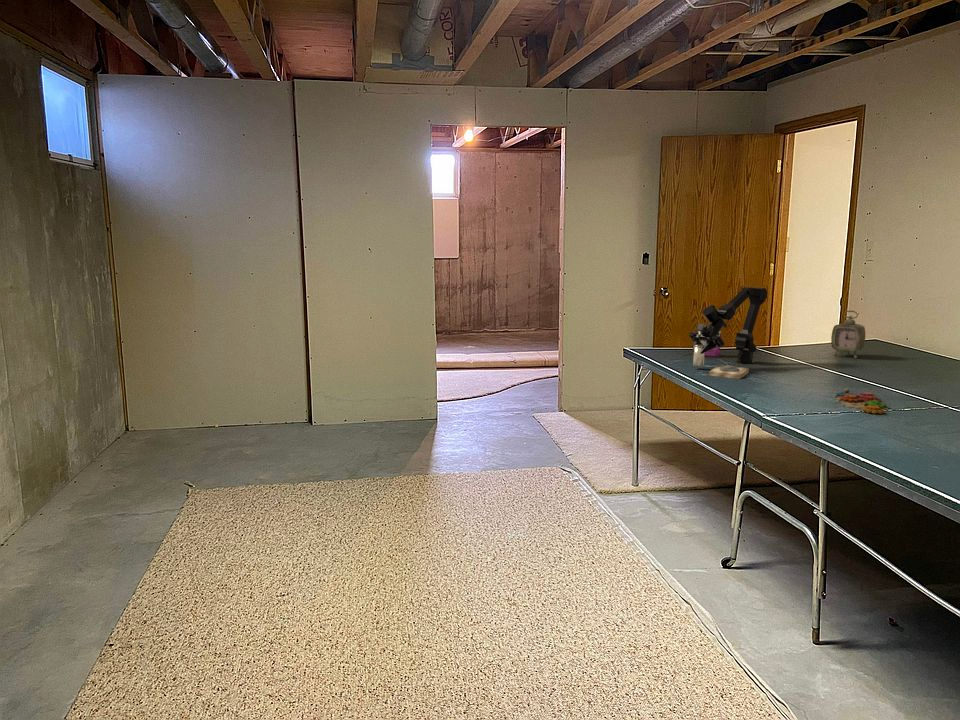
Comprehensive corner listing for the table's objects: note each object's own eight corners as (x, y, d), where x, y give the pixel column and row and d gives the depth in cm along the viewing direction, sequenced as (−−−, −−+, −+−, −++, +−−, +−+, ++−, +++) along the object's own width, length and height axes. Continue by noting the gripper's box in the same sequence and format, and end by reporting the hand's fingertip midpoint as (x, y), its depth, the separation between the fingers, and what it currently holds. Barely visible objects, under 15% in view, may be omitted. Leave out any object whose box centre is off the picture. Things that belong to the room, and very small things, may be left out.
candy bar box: (698, 356, 376) (700, 326, 373) (696, 354, 381) (698, 325, 378) (719, 356, 375) (721, 326, 372) (717, 355, 380) (719, 325, 377)
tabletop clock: (829, 356, 377) (833, 310, 372) (836, 353, 383) (840, 308, 378) (858, 359, 366) (862, 312, 362) (864, 357, 372) (869, 311, 368)
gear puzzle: (896, 417, 256) (897, 406, 256) (848, 414, 261) (849, 404, 260) (873, 398, 286) (874, 388, 285) (831, 395, 290) (831, 386, 289)
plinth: (748, 372, 335) (748, 367, 334) (739, 379, 320) (740, 373, 320) (718, 369, 342) (719, 364, 342) (708, 375, 328) (709, 370, 327)
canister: (700, 364, 346) (701, 344, 344) (705, 366, 341) (706, 345, 339) (691, 364, 344) (692, 344, 343) (696, 366, 340) (697, 346, 338)
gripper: (692, 315, 348) (675, 339, 345) (721, 319, 332) (703, 344, 329) (702, 330, 353) (686, 353, 350) (732, 334, 337) (714, 359, 334)
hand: (697, 352), depth 341 cm, fingers closed on canister, 5 cm apart
